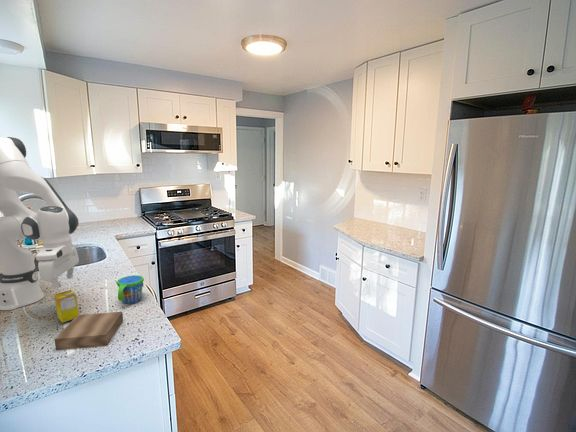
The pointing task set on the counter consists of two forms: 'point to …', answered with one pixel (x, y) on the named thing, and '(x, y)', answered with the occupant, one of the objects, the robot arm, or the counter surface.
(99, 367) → the counter surface
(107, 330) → the walnut plinth
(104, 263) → the counter surface
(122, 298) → the snack cup
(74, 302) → the supplement box
